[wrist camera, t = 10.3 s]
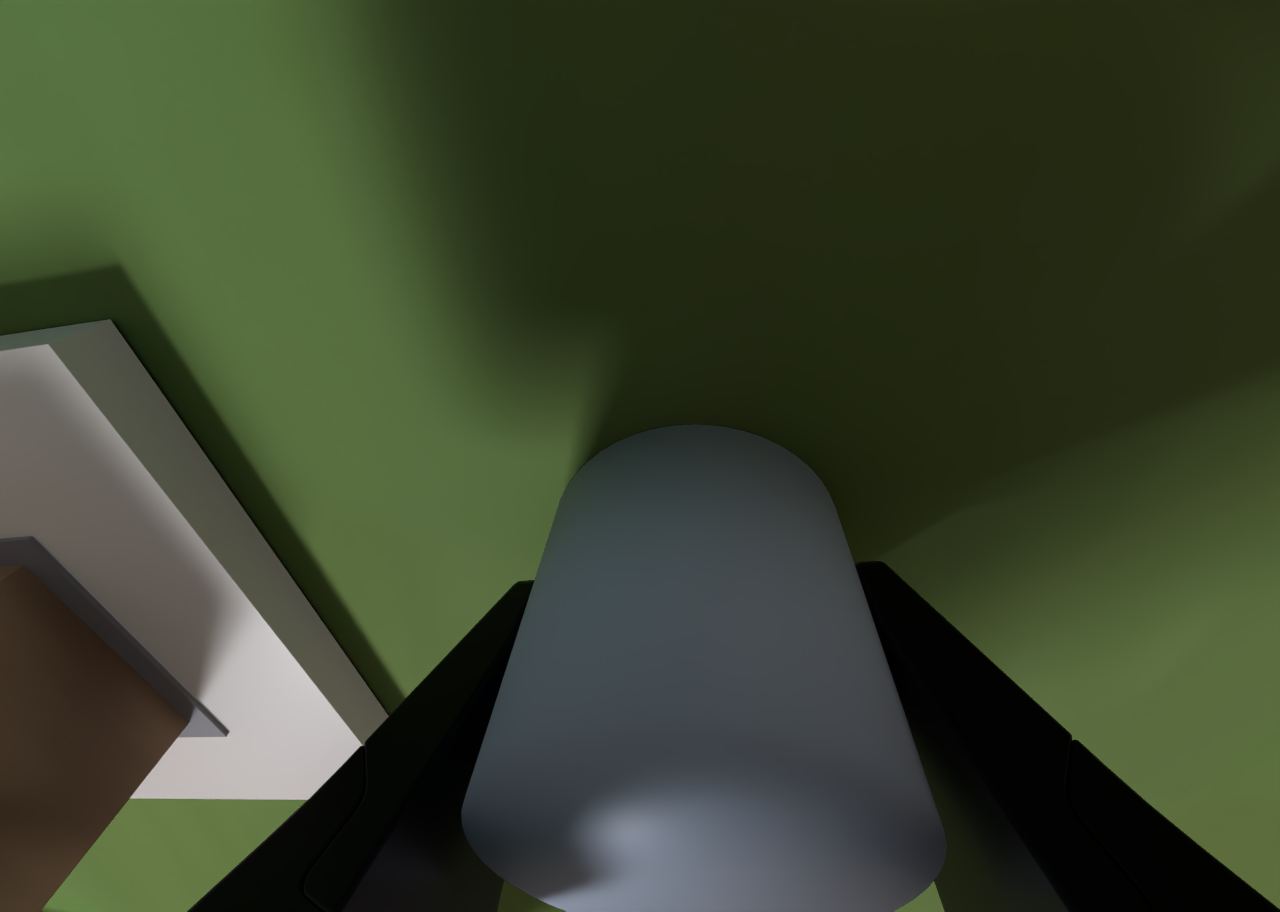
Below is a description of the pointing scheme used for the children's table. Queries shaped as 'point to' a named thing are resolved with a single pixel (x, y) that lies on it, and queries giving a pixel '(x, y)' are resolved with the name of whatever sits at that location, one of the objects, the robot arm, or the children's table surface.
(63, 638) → the walnut cube
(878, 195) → the children's table surface
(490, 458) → the children's table surface
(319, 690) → the board
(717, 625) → the blue cylinder
